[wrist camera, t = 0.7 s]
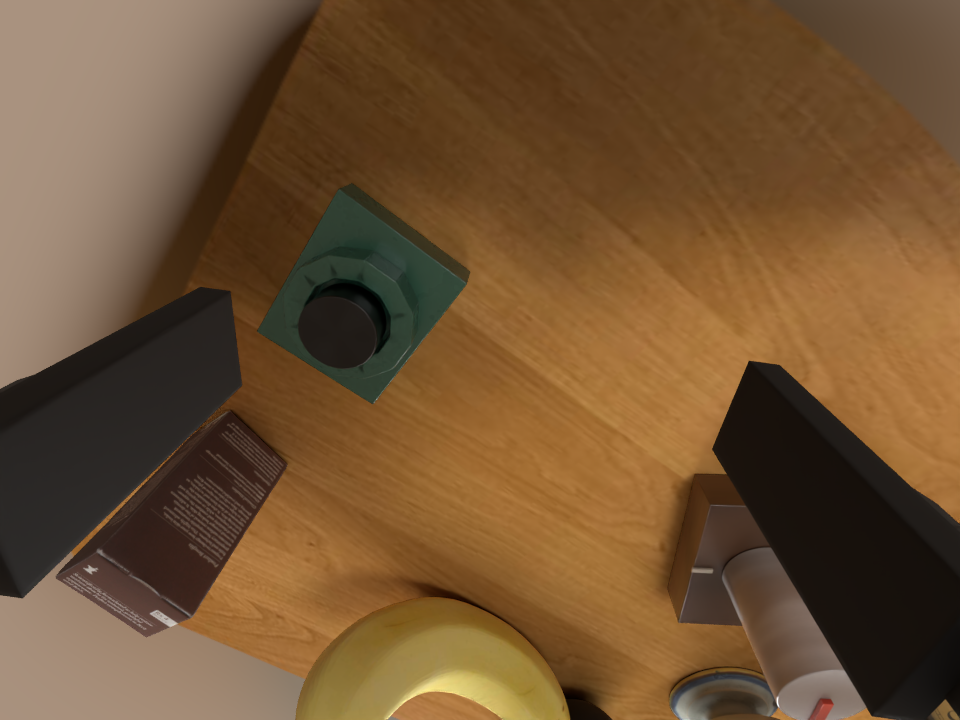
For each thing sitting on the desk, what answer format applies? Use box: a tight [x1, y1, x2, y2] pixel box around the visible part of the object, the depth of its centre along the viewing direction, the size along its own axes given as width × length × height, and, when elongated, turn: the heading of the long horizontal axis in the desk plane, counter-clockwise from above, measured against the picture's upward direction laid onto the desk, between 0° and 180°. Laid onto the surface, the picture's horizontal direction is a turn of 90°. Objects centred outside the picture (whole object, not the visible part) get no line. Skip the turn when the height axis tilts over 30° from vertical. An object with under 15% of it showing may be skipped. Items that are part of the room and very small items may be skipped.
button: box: [298, 283, 387, 369], centre depth 25 cm, size 4×4×2 cm
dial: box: [722, 547, 867, 720], centre depth 29 cm, size 5×5×8 cm
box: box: [56, 411, 287, 637], centre depth 30 cm, size 6×4×12 cm
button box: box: [257, 183, 470, 404], centre depth 27 cm, size 10×8×4 cm
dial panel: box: [668, 474, 771, 626], centre depth 34 cm, size 12×9×3 cm
